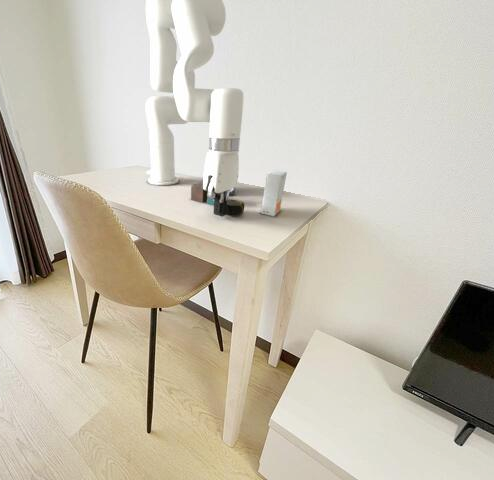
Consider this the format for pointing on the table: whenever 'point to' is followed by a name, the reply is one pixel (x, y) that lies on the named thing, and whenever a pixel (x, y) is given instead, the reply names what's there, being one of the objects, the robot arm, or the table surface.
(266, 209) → the cosmetic box
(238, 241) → the table surface
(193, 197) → the walnut block
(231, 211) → the tape measure
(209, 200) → the teal block
